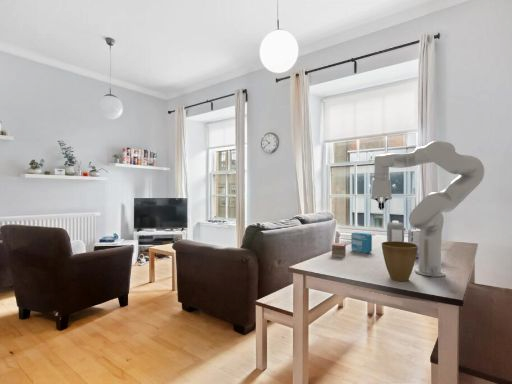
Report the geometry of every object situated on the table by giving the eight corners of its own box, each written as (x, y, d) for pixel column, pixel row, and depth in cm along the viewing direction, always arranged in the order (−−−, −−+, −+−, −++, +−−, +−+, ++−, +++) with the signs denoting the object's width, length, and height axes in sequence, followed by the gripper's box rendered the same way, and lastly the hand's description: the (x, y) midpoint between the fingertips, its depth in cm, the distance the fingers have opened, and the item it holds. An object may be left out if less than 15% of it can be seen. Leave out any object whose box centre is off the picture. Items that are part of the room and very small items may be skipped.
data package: (351, 250, 196) (351, 232, 196) (354, 249, 199) (355, 231, 199) (368, 253, 187) (368, 234, 187) (371, 252, 190) (372, 234, 190)
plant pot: (383, 272, 146) (383, 240, 145) (418, 277, 138) (418, 243, 138) (378, 280, 133) (379, 245, 133) (416, 286, 125) (417, 248, 125)
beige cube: (331, 244, 179) (331, 256, 179) (343, 245, 176) (343, 257, 177) (334, 242, 186) (333, 254, 186) (345, 243, 183) (345, 255, 183)
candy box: (431, 256, 179) (431, 229, 179) (436, 259, 173) (436, 231, 173) (407, 256, 180) (407, 229, 180) (411, 258, 174) (411, 230, 174)
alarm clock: (404, 255, 182) (404, 222, 182) (389, 254, 185) (389, 222, 185) (400, 249, 199) (400, 219, 199) (386, 248, 202) (386, 219, 202)
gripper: (367, 177, 167) (366, 209, 167) (396, 176, 161) (396, 210, 161) (367, 177, 174) (367, 209, 174) (396, 177, 168) (395, 209, 168)
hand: (381, 209), depth 167 cm, fingers closed
